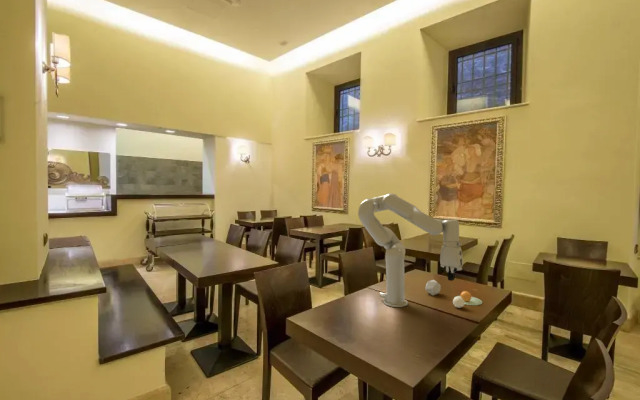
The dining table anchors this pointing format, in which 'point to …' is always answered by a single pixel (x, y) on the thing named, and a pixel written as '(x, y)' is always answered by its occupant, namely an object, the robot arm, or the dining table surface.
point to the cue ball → (458, 302)
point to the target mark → (473, 301)
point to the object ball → (466, 296)
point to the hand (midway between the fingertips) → (451, 280)
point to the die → (433, 287)
